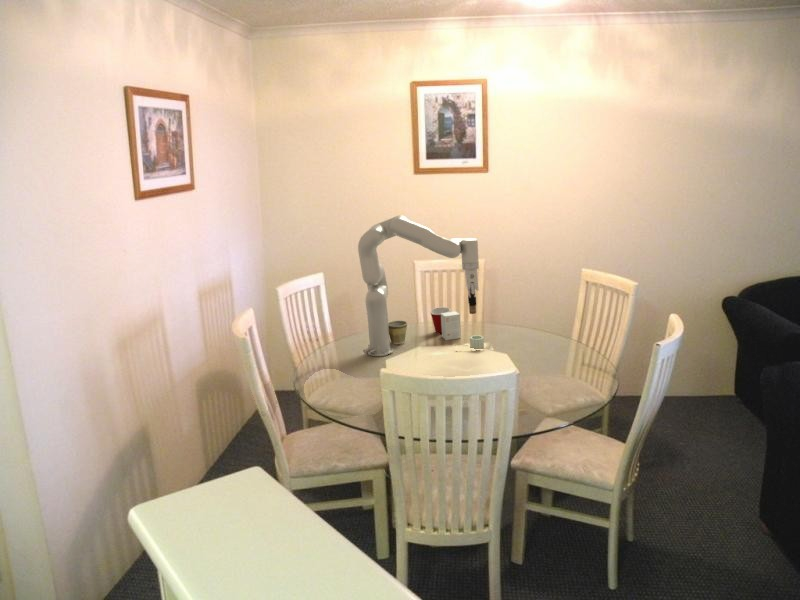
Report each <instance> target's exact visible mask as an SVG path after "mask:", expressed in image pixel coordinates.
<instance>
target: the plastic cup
mask: <svg viewBox="0 0 800 600" xmlns="http://www.w3.org/2000/svg"><path fill="white" fill-rule="evenodd" d="M447 312H451V307H450V308H449V307H445V306H444V307H443V306H442V307H441V306H440V307H434V308H432V309H430V310H429V313H430V315H431V318H432V319H431V320H432V324H433V327H434V332H435V333H436V332H438V333H442V327H441V313H447ZM438 333H437V334H438Z"/></svg>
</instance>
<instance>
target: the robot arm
mask: <svg viewBox="0 0 800 600" xmlns="http://www.w3.org/2000/svg"><path fill="white" fill-rule="evenodd" d="M393 237H399V238H402V239H404V240H406V241H410V242H412V243H415V244H417V245H419V246H422V247H423V248H425V249H428V250H429V251H432V252H433V253H436V254H438V255H441V256H442V257H446V258H448V259H454V258H455V259H456V258H458V256H459V255H461V267H462V268H461V269H462V270H463V271H464V274H465V275H464V278H465V286H466V289H467V293H468V291H469V293H468V295H467V296H468V297H467V300H468V301H467V302H468V307H469V306H476V307H477V297H476V292H478V291H479V279H478V270H479V269H480V265H479V263H480V262H479V247H478V246H479V244H478V239H477V238H473V237H468V238H467V237H465V238H453V237H452V238H449V239H448V238H446V237H443V236H441V235H439V234H436V233H435V232H434V231H432V229H430V228H429V227H427V226H424V225H422V224H419V223H416V222H414V221H412V220H409V219H408V218H407V217H406V216H405V215H396V216H393V217H391V218H388V219H386V220H384V221H381V222H378V223H376V224H374V225H372V226H371V227H370V228H369V229H368V230H367V231H366V232H365V233H363V235H361V237H360V238H359V241H358V243H357V244H358V245H357V252H358V257H359V258H358V259H359V264H360V270H361V275H362V280H363V282H364V283H365V284H366V285H367V293H366V294H365V307H366V315H367V325H368V327H367V328H368V339H369V344H368V347H367V348H365V349H363V351H362V352H363V354H367V355H369V356H371V357H385V356H389V355H391V354H393V353H394V348H393V347H392V346H391V343H390V342H391V340H390V336H389V326H388V322H389V314H388V305H387V302H388V301H387V300H388V297H389V288H388V282H387V277H386V271H385V269H384V266H383V265H382V264H381V263H380V261H379V256H378V252H377V248H378V246H380V245H381V244H383V243H384V241H386V240H388V239H391V238H393ZM470 290H471V291H470ZM470 292H471V293H470ZM392 352H393V353H392ZM390 353H391V354H390ZM388 354H389V355H388Z"/></svg>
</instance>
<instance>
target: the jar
mask: <svg viewBox="0 0 800 600" xmlns="http://www.w3.org/2000/svg"><path fill="white" fill-rule="evenodd" d="M469 343H470V348H474V349H483V348H484V343H485V336H483V335H479V334H477V335H476V334H475V335H471V336H469Z"/></svg>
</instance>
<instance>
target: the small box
mask: <svg viewBox="0 0 800 600" xmlns="http://www.w3.org/2000/svg"><path fill="white" fill-rule="evenodd" d="M441 327H442V334H441V337H442V338H443V339H444V340H445V341H449V340H457V339H461V338H462V335H461V333H462V332H461V315H460V313H459V312H458V311H456V310H455V311H450V312H447V313H441Z"/></svg>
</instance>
